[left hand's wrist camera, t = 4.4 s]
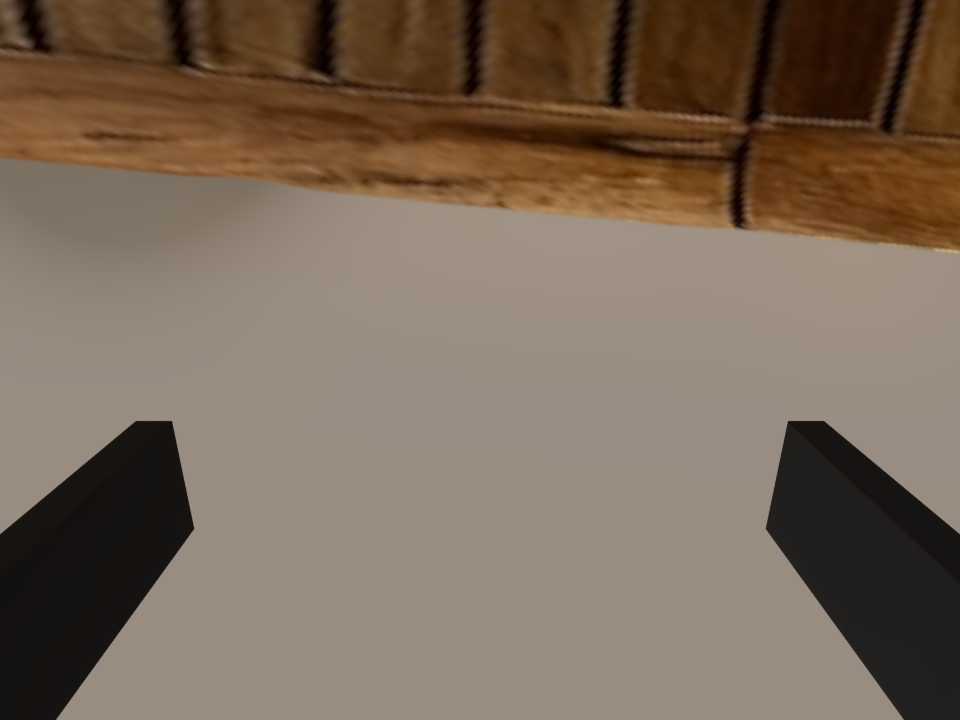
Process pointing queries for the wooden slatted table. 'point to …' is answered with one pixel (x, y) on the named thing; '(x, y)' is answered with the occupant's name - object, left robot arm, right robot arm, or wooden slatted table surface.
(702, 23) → the wooden slatted table surface
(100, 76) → the wooden slatted table surface
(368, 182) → the wooden slatted table surface
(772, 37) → the wooden slatted table surface
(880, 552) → the left robot arm
